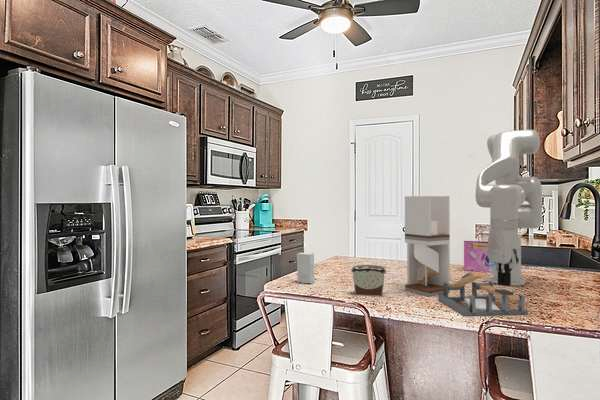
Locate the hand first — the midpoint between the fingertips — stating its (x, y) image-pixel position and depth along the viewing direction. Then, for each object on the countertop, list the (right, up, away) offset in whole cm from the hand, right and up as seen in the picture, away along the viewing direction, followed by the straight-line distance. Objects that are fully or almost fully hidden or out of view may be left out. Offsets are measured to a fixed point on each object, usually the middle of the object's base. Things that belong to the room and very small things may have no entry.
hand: (504, 284), depth 119 cm
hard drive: (-5, -8, +3) cm, 11 cm away
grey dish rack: (-6, -8, +3) cm, 10 cm away
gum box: (+26, -8, +63) cm, 69 cm away
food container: (-38, -8, +20) cm, 44 cm away
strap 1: (-11, -1, +3) cm, 11 cm away
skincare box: (-61, -8, +39) cm, 72 cm away
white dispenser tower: (-16, -8, +23) cm, 29 cm away
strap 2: (-1, -4, +4) cm, 5 cm away
